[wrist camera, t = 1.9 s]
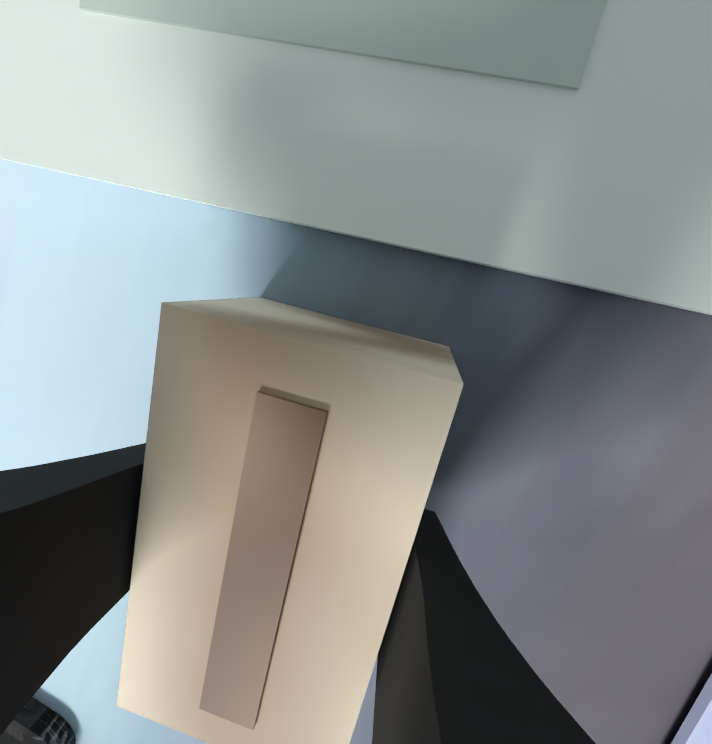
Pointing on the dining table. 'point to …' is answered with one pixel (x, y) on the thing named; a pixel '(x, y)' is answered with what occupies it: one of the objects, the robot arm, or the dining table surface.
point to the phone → (38, 727)
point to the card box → (276, 516)
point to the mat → (395, 122)
